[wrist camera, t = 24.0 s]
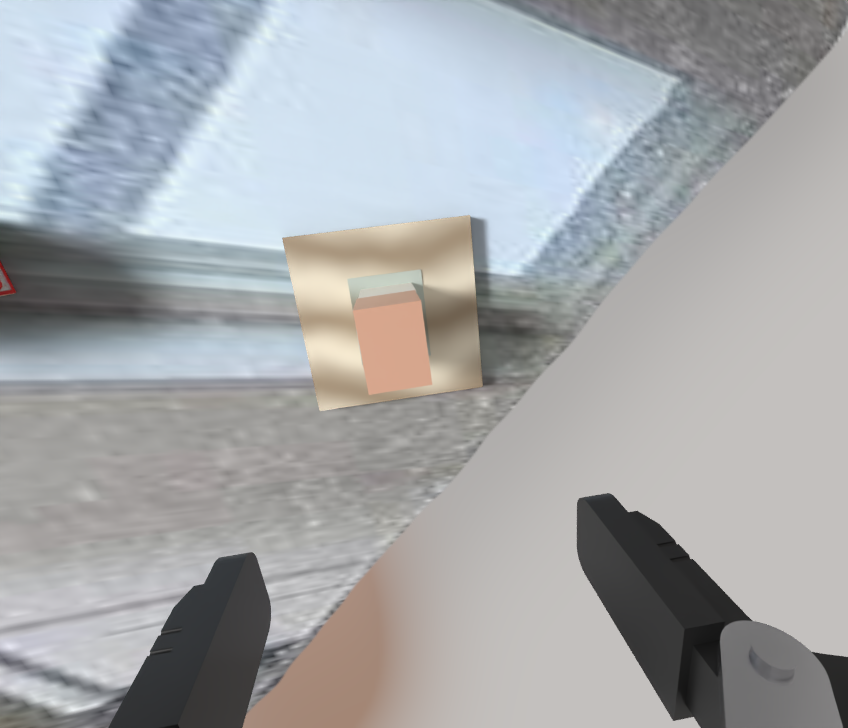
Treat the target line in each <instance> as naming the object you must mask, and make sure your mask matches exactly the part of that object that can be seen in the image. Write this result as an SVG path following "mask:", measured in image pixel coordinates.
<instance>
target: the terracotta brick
mask: <svg viewBox="0 0 848 728" xmlns="http://www.w3.org/2000/svg"><path fill="white" fill-rule="evenodd" d="M353 315H354V320H355V325H356V330H357V336H358V341H359V346H360V351H361V357H362V362H363V367H364V372H365V378H366V383H367V388H368V393H369V395H372V394H378V393H384V392H391V391H397V390H403V389H409V388H415V387H421V386H428V385H432V378H431V371H430V363H429V356H428V348H427V341H426V334H425V326H424V319H423V311H422V304H421V300H420V298H419V296H418V295H417V293H416V291H415V290H412V291H405V292H398V293H391V294H385V295H378V296H371V297H364V298H358V299H356V302H355V305H354V308H353Z"/></svg>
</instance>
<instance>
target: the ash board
mask: <svg viewBox="0 0 848 728" xmlns="http://www.w3.org/2000/svg"><path fill="white" fill-rule="evenodd" d="M282 239H283V244H284V248H285V253H286V257H287V262H288V267H289V271H290V276H291V281H292V285H293V290H294V294H295V299H296V304H297V308H298V313H299V318H300V322H301V327H302V331H303V336H304V341H305V345H306V350H307V354H308V359H309V364H310V368H311V373H312V378H313V382H314V387H315V391H316V396H317V401H318V405H319V410H320V411H323V410H330V409H337V408H343V407H350V406H357V405H364V404H370V403H377V402H384V401H391V400H397V399H404V398H411V397H418V396H424V395H431V394H438V393H445V392H451V391H458V390H465V389H471V388H478V387H483V384H482V370H481V357H480V343H479V330H478V316H477V303H476V289H475V276H474V262H473V249H472V235H471V222H470V215H468V216H459V217H451V218H443V219H435V220H426V221H418V222H410V223H401V224H393V225H385V226H377V227H368V228H360V229H352V230H343V231H335V232H327V233H319V234H310V235H302V236H294V237H286V238H282ZM404 283H412V284H413V286H414V288H415V289H416V293H417V295H418V296H419V298H420V300H421V304H422V311H423V319H424V326H425V334H426V341H427V348H428V356H429V363H430V371H431V378H432V385H428V386H421V387H415V388H409V389H403V390H397V391H391V392H384V393H378V394H372V395H369V393H368V388H367V383H366V378H365V372H364V367H363V362H362V357H361V351H360V346H359V341H358V336H357V330H356V325H355V320H354V315H353V308H354V305H355V302H356V299H358V297H359V294H360V290H361V289H367V288H375V287H382V286H389V285H397V284H404Z"/></svg>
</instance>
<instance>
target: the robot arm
mask: <svg viewBox="0 0 848 728" xmlns="http://www.w3.org/2000/svg"><path fill="white" fill-rule="evenodd" d="M577 552H578V557H579V560H580V563H581V566H582V569H583V571H584V573H585V575H586V576H587V578H588V580H589V581H590V583H591V585H592V586H593V588H594V590H595V591H596V593H597V595H598V596H599V598H600V600H601V601H602V603H603V605H604V606H605V608H606V610H607V611H608V613H609V615H610V616H611V618H612V620H613V621H614V623H615V625H616V626H617V628H618V630H619V631H620V633H621V635H622V636H623V638H624V640H625V641H626V643H627V645H628V646H629V648H630V649H631V651H632V653H633V654H634V656H635V658H636V660H637V661H638V663H639V665H640V666H641V668H642V669H643V671H644V673H645V674H646V676H647V678H648V679H649V681H650V683H651V684H652V686H653V688H654V689H655V691H656V693H657V694H658V696H659V698H660V699H661V701H662V703H663V704H664V706H665V708H666V709H667V711H668V713H669V714H670V716H671V718H672V719H673V721H675V720H680V719H684V718H689V717H694V718H695V719H696V721H697V722H698V724H699V726H700V727H701V728H848V657H843V656H834V655H827V654H820V653H815V652H811V651H810V650H809V649H808V648H806V647H805V646H804V645H803V644H802V643H800V642H799V641H797V640H796V639H795V638H793V637H792V636H790V635H788V634H787V633H785V632H783V631H781V630H779V629H777V628H774V627H772V626H769V625H767V624H763V623H760V622H754V621H752V620H751V619H750V618H749V617H748V616H747V615H746V614H745V613H744V612H743V611H742V610H741V609H740V608H739V607H738V606H737V605H736V604H735V603H734V602H733V601H732V600H731V599H730V597H728V595H727V594H725V592H724V591H723V590H722V589H721V588H720V587H719V586H718V585H717V584H716V583H715V582H714V581H713V580H712V579H711V578H710V577H709V576H708V574H707V573H706V572H705V571H704V570H703V569H701V567H700V566H699V565H698V564H697V563H696V562H695V561H694V560H693V559H690V557H689V555H688V554H687V553H686V552H685V550H684V549H683V548H682V547H681V546H680V545H679V544H678V545H677V544H676V542H675V540H674V539H673V538H672V537H671V536H670V535H669V534H668V533H667V532H666V531H665V530H664V529H663V528H662V527H661V525H660V524H658V523H657V522H655V521H653V520H652V519H650V518H648V517H647V516H645V515H643V514H641V513H640V512H638V511H634V512H627V510H625V508H624V507H623V506H622V505H621V504H620V502H619V501H618V500H617V499H616V498H615V497H614V496H613V495H612V494H609V493H607V494H601V495H595V496H589V497H584V498H579V500H578V503H577ZM270 621H271V606H270V600H269V596H268V593H267V590H266V587H265V583H264V580H263V577H262V574H261V571H260V567H259V564H258V561H257V558H256V556H255V554H254V553H252V552H250V553H244V554H239V555H233V556H227V557H221V558H218V559H217V560H216V562H215V563H214V565H213V567H212V569H211V571H210V573H209V575H208V577H207V579H206V581H205V583H204V584H203V585H197V586H194V587H193V588H192V589H191V590H190V591H189V592H188V593H187V594H186V595H185V596H184V597H183V598H182V599H181V600H180V602H179V603H178V604H177V605H176V606H175V607H174V608H173V610H172V612H171V614H170V616H169V617H168V619H167V621H166V623H165V625H164V627H163V628H162V630H161V635H160V636H158V638H157V639H156V641H155V643H154V645H153V647H152V649H151V650H150V656H147V658H146V660H145V661H144V663H143V665H142V667H141V669H140V671H139V672H138V674H137V676H136V678H135V680H134V682H133V684H132V685H131V687H130V689H129V691H128V693H127V695H126V696H125V698H124V700H123V702H122V704H121V706H120V707H119V709H118V711H117V713H116V715H115V717H114V718H113V720H112V722H111V724H110V726H109V728H242V727H243V723H244V719H245V716H246V712H247V709H248V705H249V701H250V698H251V694H252V690H253V687H254V683H255V679H256V676H257V672H258V669H259V665H260V661H261V658H262V654H263V650H264V647H265V643H266V640H267V636H268V632H269V628H270Z"/></svg>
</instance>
